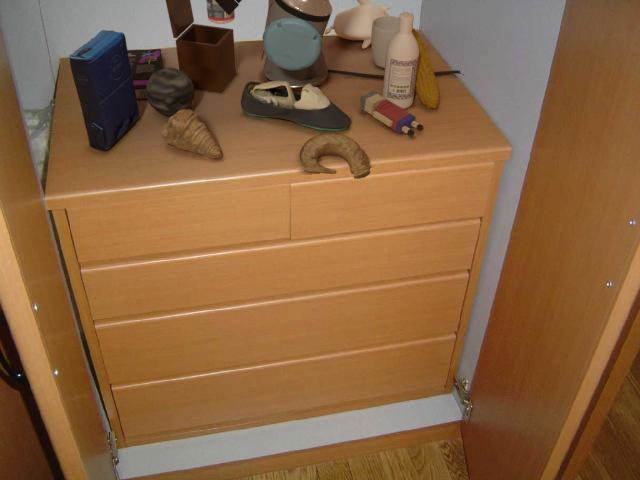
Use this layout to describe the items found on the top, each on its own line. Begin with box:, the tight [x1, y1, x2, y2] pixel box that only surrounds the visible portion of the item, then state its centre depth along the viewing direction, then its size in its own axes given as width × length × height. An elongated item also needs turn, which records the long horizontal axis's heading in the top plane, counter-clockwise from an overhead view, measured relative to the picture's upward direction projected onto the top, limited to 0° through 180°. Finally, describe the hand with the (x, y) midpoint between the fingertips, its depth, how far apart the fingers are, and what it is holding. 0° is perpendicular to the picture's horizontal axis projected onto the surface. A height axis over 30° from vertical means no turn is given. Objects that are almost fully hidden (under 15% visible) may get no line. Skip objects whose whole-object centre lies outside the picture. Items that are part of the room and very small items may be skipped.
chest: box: [175, 23, 237, 94], centre depth 150 cm, size 10×9×11 cm
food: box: [412, 27, 441, 110], centre depth 148 cm, size 21×6×6 cm
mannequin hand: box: [324, 0, 391, 50], centre depth 169 cm, size 12×18×12 cm
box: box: [127, 48, 163, 100], centre depth 153 cm, size 14×4×20 cm
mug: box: [370, 15, 399, 69], centre depth 158 cm, size 13×9×10 cm
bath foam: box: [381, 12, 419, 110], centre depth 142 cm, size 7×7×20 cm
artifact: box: [299, 132, 372, 180], centre depth 129 cm, size 12×3×15 cm
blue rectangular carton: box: [68, 29, 140, 152], centre depth 129 cm, size 14×5×20 cm, turn 164°
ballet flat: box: [240, 81, 352, 132], centre depth 139 cm, size 8×24×8 cm, turn 72°
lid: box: [165, 0, 195, 39], centre depth 144 cm, size 11×9×1 cm
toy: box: [359, 90, 425, 137], centre depth 141 cm, size 6×4×15 cm
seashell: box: [160, 109, 222, 159], centre depth 131 cm, size 14×8×8 cm
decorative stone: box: [146, 67, 196, 117], centre depth 140 cm, size 10×10×10 cm
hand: (238, 4), depth 127 cm, fingers closed on pill bottle, 5 cm apart
